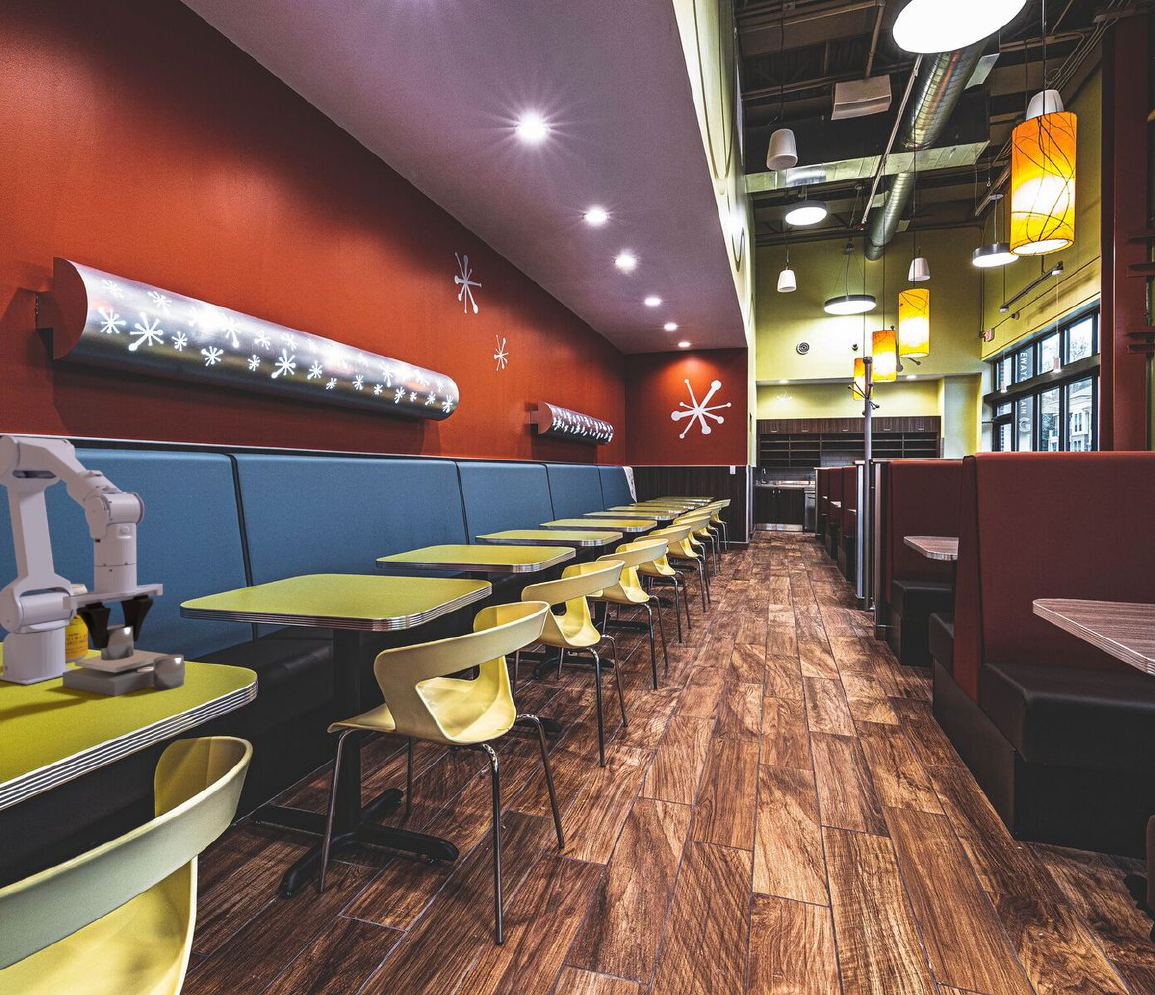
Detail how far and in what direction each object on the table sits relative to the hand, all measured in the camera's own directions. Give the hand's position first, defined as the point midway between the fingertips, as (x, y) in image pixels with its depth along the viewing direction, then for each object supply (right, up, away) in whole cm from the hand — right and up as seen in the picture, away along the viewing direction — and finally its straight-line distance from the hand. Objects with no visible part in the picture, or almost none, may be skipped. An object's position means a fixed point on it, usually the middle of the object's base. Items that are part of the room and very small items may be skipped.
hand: (116, 644), depth 103 cm
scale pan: (-4, -5, +6) cm, 9 cm away
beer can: (-25, -8, +20) cm, 33 cm away
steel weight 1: (0, -2, 0) cm, 2 cm away
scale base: (-3, -8, +6) cm, 11 cm away
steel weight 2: (+7, -8, +4) cm, 11 cm away
